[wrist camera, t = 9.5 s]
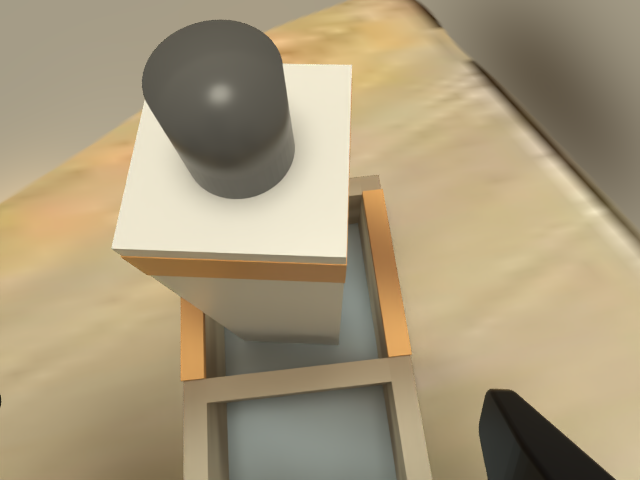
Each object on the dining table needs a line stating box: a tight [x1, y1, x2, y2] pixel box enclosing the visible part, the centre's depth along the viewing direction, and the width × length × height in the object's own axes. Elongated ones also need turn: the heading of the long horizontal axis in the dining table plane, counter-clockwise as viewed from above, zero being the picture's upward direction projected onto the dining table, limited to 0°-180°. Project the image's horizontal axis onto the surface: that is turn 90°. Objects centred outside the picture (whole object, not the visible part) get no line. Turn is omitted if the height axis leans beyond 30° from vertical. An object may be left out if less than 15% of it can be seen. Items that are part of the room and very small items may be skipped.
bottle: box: [111, 20, 352, 345], centre depth 13 cm, size 4×4×14 cm
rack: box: [181, 175, 432, 480], centre depth 17 cm, size 16×9×4 cm, turn 6°
